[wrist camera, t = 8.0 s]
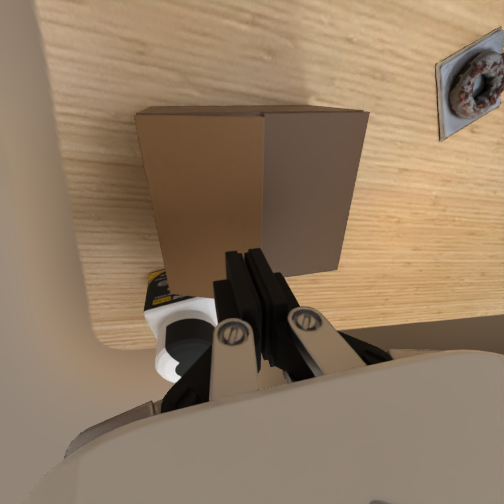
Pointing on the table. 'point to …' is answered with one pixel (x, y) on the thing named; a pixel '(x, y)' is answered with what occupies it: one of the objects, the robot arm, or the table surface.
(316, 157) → the carton
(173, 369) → the medicine bottle
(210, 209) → the front flap
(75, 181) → the table surface
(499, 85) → the donut
